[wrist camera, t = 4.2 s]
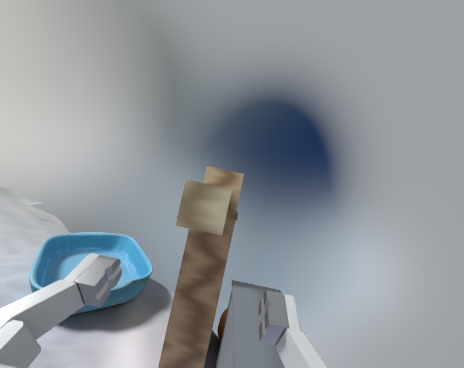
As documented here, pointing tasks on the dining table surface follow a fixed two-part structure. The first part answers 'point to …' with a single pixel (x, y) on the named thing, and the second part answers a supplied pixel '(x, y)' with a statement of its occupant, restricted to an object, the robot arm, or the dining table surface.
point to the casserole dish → (82, 244)
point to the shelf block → (196, 297)
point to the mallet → (209, 200)
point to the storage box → (245, 331)
